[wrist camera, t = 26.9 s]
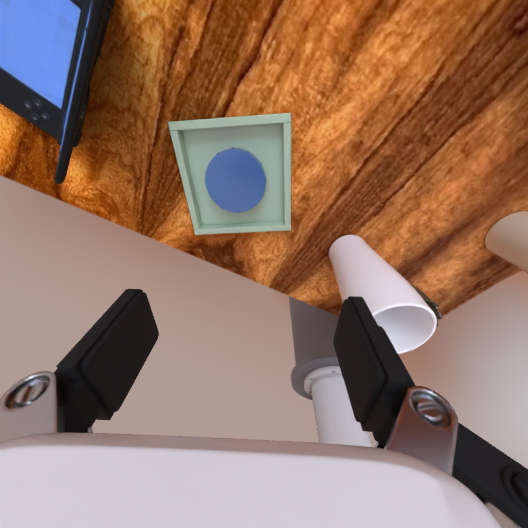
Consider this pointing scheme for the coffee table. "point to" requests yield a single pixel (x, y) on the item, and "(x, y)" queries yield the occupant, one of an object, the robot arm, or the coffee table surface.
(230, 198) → the lid
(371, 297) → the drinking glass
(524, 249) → the jar
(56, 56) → the game console
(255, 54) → the coffee table surface
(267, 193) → the tray
